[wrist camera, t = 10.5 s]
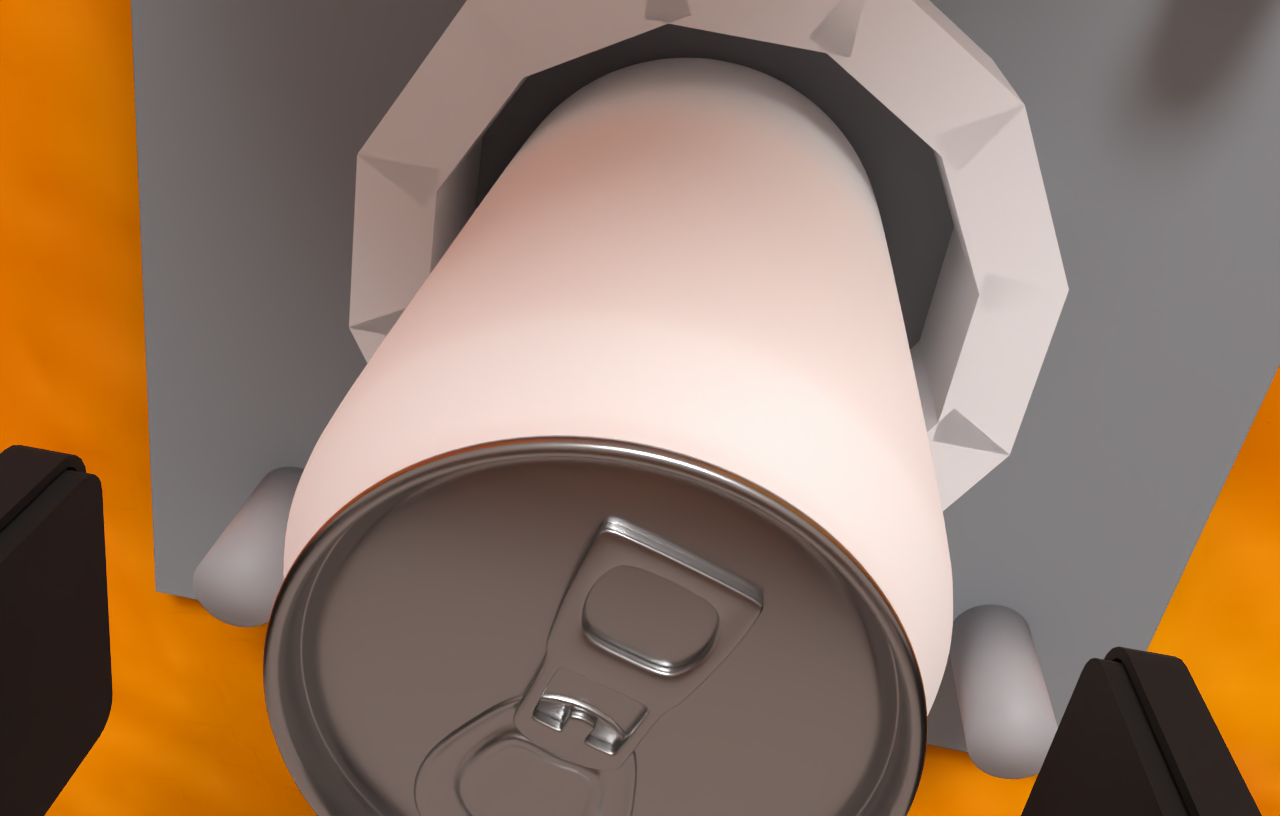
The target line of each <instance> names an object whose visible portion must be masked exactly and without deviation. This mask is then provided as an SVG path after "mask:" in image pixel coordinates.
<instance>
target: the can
mask: <svg viewBox="0 0 1280 816" xmlns="http://www.w3.org/2000/svg"><path fill="white" fill-rule="evenodd" d="M283 574H284V581H283V583H282V585H281V587H280V589H279V592H278V594H277V597H276V599H275V602H274V605H273V608H272V611H271V615H270V618H269V622H268V627H267V632H266V637H265V644H264V654H263V683H264V693H265V701H266V706H267V712H268V716H269V720H270V724H271V728H272V731H273V734H274V737H275V740H276V743H277V746H278V748H279V751H280V753H281V755H282V758H283V760H284V762H285V764H286V766H287V768H288V770H289V772H290V774H291V776H292V778H293V779H294V781H295V783H296V785H297V786H298V788H299V790H300V791H301V793H302V794H303V796H304V797H305V799H306V800H307V802H308V803H309V805H310V806H311V807H312V809H313V810H314V811H315V813H316V814H317V815H318V816H906V815H907V814H908V812H909V809H910V807H911V805H912V802H913V800H914V797H915V795H916V792H917V789H918V786H919V782H920V779H921V775H922V771H923V766H924V761H925V755H926V747H927V731H928V722H927V716H928V714H929V712H930V710H931V707H932V705H933V703H934V700H935V698H936V695H937V692H938V689H939V687H940V684H941V681H942V678H943V675H944V671H945V668H946V664H947V660H948V655H949V650H950V644H951V637H952V627H953V580H952V569H951V561H950V554H949V548H948V541H947V535H946V528H945V522H944V516H943V511H942V506H941V501H940V495H939V490H938V485H937V480H936V475H935V469H934V464H933V460H932V455H931V450H930V445H929V440H928V435H927V430H926V425H925V420H924V416H923V411H922V406H921V401H920V396H919V391H918V387H917V382H916V377H915V372H914V368H913V363H912V358H911V353H910V349H909V344H908V339H907V334H906V330H905V325H904V320H903V315H902V311H901V306H900V302H899V297H898V292H897V288H896V283H895V278H894V274H893V269H892V265H891V260H890V256H889V251H888V247H887V242H886V238H885V233H884V229H883V225H882V221H881V216H880V212H879V209H878V205H877V202H876V198H875V195H874V192H873V189H872V186H871V183H870V180H869V178H868V176H867V173H866V171H865V169H864V167H863V165H862V163H861V161H860V159H859V157H858V156H857V154H856V152H855V150H854V149H853V147H852V146H851V144H850V143H849V141H848V140H847V138H846V137H845V136H844V134H843V133H842V132H841V130H840V129H839V128H838V127H837V126H836V124H835V123H834V122H833V121H832V120H831V119H830V118H829V117H828V116H827V115H826V114H825V113H824V112H823V111H822V110H821V109H820V108H819V107H818V106H816V105H815V104H814V103H813V102H812V101H810V100H809V99H808V98H806V97H805V96H804V95H802V94H801V93H800V92H798V91H797V90H795V89H794V88H792V87H790V86H789V85H787V84H785V83H783V82H782V81H780V80H778V79H776V78H774V77H772V76H769V75H767V74H765V73H762V72H760V71H757V70H755V69H752V68H749V67H746V66H742V65H739V64H735V63H731V62H726V61H721V60H714V59H706V58H667V59H659V60H653V61H647V62H643V63H638V64H635V65H631V66H628V67H625V68H622V69H619V70H616V71H614V72H611V73H609V74H607V75H604V76H602V77H600V78H598V79H596V80H594V81H593V82H591V83H589V84H587V85H586V86H584V87H582V88H581V89H579V90H578V91H576V92H575V93H574V94H572V95H571V96H570V97H568V98H567V99H566V100H565V101H563V102H562V103H561V104H560V105H558V106H557V107H556V108H555V109H554V110H553V111H552V112H551V113H550V114H549V115H548V116H547V117H546V118H545V119H544V120H543V121H542V122H541V123H540V125H539V126H538V127H537V128H536V129H535V131H534V132H533V133H532V134H531V135H530V137H529V138H528V139H527V140H526V142H525V143H524V144H523V146H522V147H521V148H520V150H519V151H518V152H517V154H516V155H515V156H514V158H513V159H512V161H511V162H510V163H509V165H508V166H507V167H506V169H505V170H504V172H503V173H502V174H501V176H500V177H499V178H498V180H497V181H496V183H495V184H494V185H493V187H492V188H491V190H490V191H489V192H488V194H487V195H486V196H485V198H484V199H483V201H482V202H481V203H480V205H479V206H478V208H477V209H476V210H475V212H474V213H473V215H472V216H471V217H470V219H469V220H468V222H467V223H466V224H465V226H464V227H463V229H462V230H461V231H460V233H459V234H458V236H457V237H456V238H455V240H454V241H453V243H452V244H451V245H450V247H449V248H448V250H447V251H446V252H445V254H444V255H443V257H442V258H441V260H440V261H439V262H438V264H437V265H436V267H435V268H434V269H433V271H432V272H431V274H430V275H429V276H428V278H427V279H426V281H425V282H424V284H423V285H422V286H421V288H420V289H419V291H418V292H417V293H416V295H415V296H414V298H413V299H412V301H411V302H410V303H409V305H408V306H407V308H406V309H405V311H404V312H403V313H402V315H401V316H400V318H399V319H398V321H397V322H396V323H395V325H394V326H393V328H392V329H391V331H390V332H389V333H388V335H387V336H386V338H385V339H384V341H383V342H382V343H381V345H380V346H379V348H378V349H377V351H376V352H375V353H374V355H373V356H372V358H371V359H370V361H369V362H368V364H367V365H366V367H365V368H364V370H363V371H362V372H361V374H360V375H359V377H358V378H357V380H356V381H355V383H354V384H353V386H352V387H351V388H350V390H349V391H348V393H347V394H346V396H345V398H344V399H343V401H342V402H341V404H340V405H339V407H338V409H337V410H336V412H335V413H334V415H333V417H332V418H331V420H330V421H329V423H328V425H327V426H326V428H325V429H324V431H323V432H322V434H321V436H320V438H319V440H318V441H317V443H316V445H315V447H314V449H313V451H312V454H311V456H310V458H309V460H308V462H307V464H306V467H305V469H304V471H303V473H302V476H301V478H300V481H299V483H298V486H297V488H296V492H295V495H294V498H293V501H292V505H291V509H290V513H289V518H288V523H287V529H286V536H285V548H284V570H283Z"/></svg>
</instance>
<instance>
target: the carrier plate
mask: <svg viewBox="0 0 1280 816" xmlns="http://www.w3.org/2000/svg"><path fill="white" fill-rule="evenodd" d="M131 14H132V38H133V62H134V85H135V109H136V133H137V157H138V180H139V204H140V228H141V251H142V275H143V299H144V322H145V346H146V370H147V393H148V417H149V441H150V464H151V488H152V512H153V535H154V559H155V583H156V592H162V593H167V594H172V595H177V596H182V597H187V598H192V599H197V600H199V602H200V603H201V605H202V606H203V607H204V608H205V609H206V610H207V611H208V612H209V613H210V614H211V615H213V616H214V617H216V618H217V619H219V620H221V621H223V622H225V623H228V624H230V625H234V626H239V627H255V626H259V625H262V624H264V623H266V622H268V621H269V618H270V615H271V611H272V608H273V605H274V602H275V599H276V597H277V594H278V592H279V589H280V587H281V585H282V583H283V581H284V574H283V570H284V548H285V536H286V529H287V523H288V518H289V513H290V509H291V505H292V501H293V498H294V495H295V492H296V488H297V486H298V483H299V481H300V478H301V476H302V473H303V471H304V469H305V467H306V464H307V462H308V460H309V458H310V456H311V454H312V451H313V449H314V447H315V445H316V443H317V441H318V440H319V438H320V436H321V434H322V432H323V431H324V429H325V428H326V426H327V425H328V423H329V421H330V420H331V418H332V417H333V415H334V413H335V412H336V410H337V409H338V407H339V405H340V404H341V402H342V401H343V399H344V398H345V396H346V394H347V393H348V391H349V390H350V388H351V387H352V386H353V384H354V383H355V381H356V380H357V378H358V377H359V375H360V374H361V372H362V371H363V370H364V368H365V367H366V365H367V364H368V362H369V361H370V359H371V358H372V356H373V355H374V353H375V352H376V351H377V349H378V348H379V346H380V345H381V343H382V342H383V341H384V339H385V338H386V336H387V335H388V333H389V332H390V331H391V329H392V328H393V326H394V325H395V323H396V322H397V321H398V319H399V318H400V316H401V315H402V313H403V312H404V311H405V309H406V308H407V306H408V305H409V303H410V302H411V301H412V299H413V298H414V296H415V295H416V293H417V292H418V291H419V289H420V288H421V286H422V285H423V284H424V282H425V281H426V279H427V278H428V276H429V275H430V274H431V272H432V271H433V269H434V268H435V267H436V265H437V264H438V262H439V261H440V260H441V258H442V257H443V255H444V254H445V252H446V251H447V250H448V248H449V247H450V245H451V244H452V243H453V241H454V240H455V238H456V237H457V236H458V234H459V233H460V231H461V230H462V229H463V227H464V226H465V224H466V223H467V222H468V220H469V219H470V217H471V216H472V215H473V213H474V212H475V210H476V209H477V208H478V206H479V205H480V203H481V202H482V201H483V199H484V198H485V196H486V195H487V194H488V192H489V191H490V190H491V188H492V187H493V185H494V184H495V183H496V181H497V180H498V178H499V177H500V176H501V174H502V173H503V172H504V170H505V169H506V167H507V166H508V165H509V163H510V162H511V161H512V159H513V158H514V156H515V155H516V154H517V152H518V151H519V150H520V148H521V147H522V146H523V144H524V143H525V142H526V140H527V139H528V138H529V137H530V135H531V134H532V133H533V132H534V131H535V129H536V128H537V127H538V126H539V125H540V123H541V122H542V121H543V120H544V119H545V118H546V117H547V116H548V115H549V114H550V113H551V112H552V111H553V110H554V109H555V108H556V107H557V106H558V105H560V104H561V103H562V102H563V101H565V100H566V99H567V98H568V97H570V96H571V95H572V94H574V93H575V92H576V91H578V90H579V89H581V88H582V87H584V86H586V85H587V84H589V83H591V82H593V81H594V80H596V79H598V78H600V77H602V76H604V75H607V74H609V73H611V72H614V71H616V70H619V69H622V68H625V67H628V66H631V65H635V64H638V63H643V62H647V61H653V60H659V59H667V58H706V59H714V60H721V61H726V62H731V63H735V64H739V65H742V66H746V67H749V68H752V69H755V70H757V71H760V72H762V73H765V74H767V75H769V76H772V77H774V78H776V79H778V80H780V81H782V82H783V83H785V84H787V85H789V86H790V87H792V88H794V89H795V90H797V91H798V92H800V93H801V94H802V95H804V96H805V97H806V98H808V99H809V100H810V101H812V102H813V103H814V104H815V105H816V106H818V107H819V108H820V109H821V110H822V111H823V112H824V113H825V114H826V115H827V116H828V117H829V118H830V119H831V120H832V121H833V122H834V123H835V124H836V126H837V127H838V128H839V129H840V130H841V132H842V133H843V134H844V136H845V137H846V138H847V140H848V141H849V143H850V144H851V146H852V147H853V149H854V150H855V152H856V154H857V156H858V157H859V159H860V161H861V163H862V165H863V167H864V169H865V171H866V173H867V176H868V178H869V180H870V183H871V186H872V189H873V192H874V195H875V198H876V202H877V205H878V209H879V212H880V216H881V221H882V225H883V229H884V233H885V238H886V242H887V247H888V251H889V256H890V260H891V265H892V269H893V274H894V278H895V283H896V288H897V292H898V297H899V302H900V306H901V311H902V315H903V320H904V325H905V330H906V334H907V339H908V344H909V349H910V353H911V358H912V363H913V368H914V372H915V377H916V382H917V387H918V391H919V396H920V401H921V406H922V411H923V416H924V420H925V425H926V430H927V435H928V440H929V445H930V450H931V455H932V460H933V464H934V469H935V475H936V480H937V485H938V490H939V495H940V501H941V506H942V511H943V516H944V522H945V528H946V535H947V541H948V548H949V554H950V561H951V569H952V580H953V627H952V637H951V644H950V650H949V655H948V660H947V664H946V668H945V671H944V675H943V678H942V681H941V684H940V687H939V689H938V692H937V695H936V698H935V700H934V703H933V705H932V707H931V710H930V712H929V714H928V716H927V722H928V731H927V744H928V745H933V746H938V747H943V748H948V749H953V750H958V751H963V752H968V754H969V757H970V759H971V760H972V762H973V763H974V764H975V765H976V766H977V767H978V768H979V769H980V770H982V771H983V772H985V773H987V774H989V775H992V776H995V777H999V778H1005V779H1020V778H1026V777H1030V776H1033V775H1036V774H1038V773H1039V772H1040V769H1041V767H1042V765H1043V762H1044V760H1045V758H1046V755H1047V753H1048V750H1049V748H1050V746H1051V743H1052V741H1053V739H1054V736H1055V734H1056V731H1057V729H1058V727H1059V724H1060V722H1061V720H1062V717H1063V715H1064V712H1065V710H1066V708H1067V705H1068V703H1069V701H1070V698H1071V696H1072V693H1073V691H1074V689H1075V686H1076V684H1077V682H1078V679H1079V677H1080V674H1081V672H1082V670H1083V668H1084V666H1085V664H1086V663H1087V662H1088V661H1089V660H1090V659H1092V658H1099V659H1104V658H1105V656H1106V654H1107V653H1108V652H1109V651H1110V650H1111V649H1112V648H1115V647H1125V648H1130V649H1136V650H1141V651H1147V649H1148V646H1149V644H1150V642H1151V640H1152V638H1153V636H1154V634H1155V631H1156V629H1157V627H1158V625H1159V623H1160V621H1161V618H1162V616H1163V614H1164V612H1165V610H1166V608H1167V606H1168V603H1169V601H1170V599H1171V597H1172V595H1173V593H1174V591H1175V588H1176V586H1177V584H1178V582H1179V580H1180V578H1181V575H1182V573H1183V571H1184V569H1185V567H1186V565H1187V563H1188V560H1189V558H1190V556H1191V554H1192V552H1193V550H1194V548H1195V545H1196V543H1197V541H1198V539H1199V537H1200V535H1201V533H1202V530H1203V528H1204V526H1205V524H1206V522H1207V520H1208V517H1209V515H1210V513H1211V511H1212V509H1213V507H1214V505H1215V502H1216V500H1217V498H1218V496H1219V494H1220V492H1221V490H1222V487H1223V485H1224V483H1225V481H1226V479H1227V477H1228V475H1229V472H1230V470H1231V468H1232V466H1233V464H1234V462H1235V459H1236V457H1237V455H1238V453H1239V451H1240V449H1241V447H1242V444H1243V442H1244V440H1245V438H1246V436H1247V434H1248V432H1249V429H1250V427H1251V425H1252V423H1253V421H1254V419H1255V417H1256V414H1257V412H1258V410H1259V408H1260V406H1261V404H1262V401H1263V399H1264V397H1265V395H1266V393H1267V391H1268V389H1269V386H1270V384H1271V382H1272V380H1273V378H1274V376H1275V374H1276V371H1277V369H1278V367H1279V365H1280V0H131Z"/></svg>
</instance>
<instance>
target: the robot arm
mask: <svg viewBox="0 0 1280 816" xmlns="http://www.w3.org/2000/svg"><path fill="white" fill-rule="evenodd" d="M111 705H112V675H111V655H110V635H109V616H108V596H107V576H106V557H105V537H104V517H103V497H102V487H101V482H100V480H99V478H98V477H97V476H96V475H94V474H89V473H86V469H85V465H84V463H83V461H82V459H80V458H79V457H78V456H76V455H71V454H66V453H60V452H55V451H49V450H44V449H38V448H33V447H28V446H22V445H13V446H11V447H9V448H7V449H6V450H4V451H3V452H2V453H1V454H0V816H44V815H45V814H46V812H47V811H48V809H49V808H50V807H51V805H52V804H53V802H54V801H55V799H56V798H57V797H58V795H59V794H60V792H61V791H62V789H63V788H64V787H65V785H66V784H67V782H68V781H69V779H70V778H71V777H72V775H73V774H74V772H75V771H76V769H77V768H78V767H79V765H80V764H81V762H82V761H83V759H84V758H85V757H86V755H87V754H88V752H89V751H90V749H91V748H92V746H93V745H94V744H95V742H96V741H97V739H98V738H99V736H100V735H101V733H102V731H103V730H104V727H105V725H106V723H107V720H108V717H109V714H110V710H111ZM1021 816H1262V815H1261V813H1260V811H1259V809H1258V807H1257V805H1256V803H1255V801H1254V799H1253V797H1252V795H1251V793H1250V792H1249V790H1248V788H1247V786H1246V784H1245V782H1244V780H1243V778H1242V776H1241V774H1240V772H1239V770H1238V768H1237V766H1236V764H1235V762H1234V760H1233V758H1232V756H1231V754H1230V752H1229V750H1228V748H1227V746H1226V744H1225V742H1224V740H1223V738H1222V736H1221V734H1220V732H1219V730H1218V728H1217V726H1216V724H1215V722H1214V720H1213V718H1212V716H1211V714H1210V712H1209V710H1208V708H1207V706H1206V704H1205V702H1204V700H1203V698H1202V696H1201V694H1200V692H1199V690H1198V688H1197V686H1196V684H1195V682H1194V680H1193V678H1192V676H1191V674H1190V672H1189V670H1188V668H1187V667H1186V665H1185V664H1184V663H1183V661H1182V660H1181V659H1179V658H1177V657H1174V656H1168V655H1163V654H1157V653H1152V652H1146V651H1141V650H1136V649H1130V648H1125V647H1115V648H1112V649H1111V650H1110V651H1109V652H1108V653H1107V654H1106V656H1105V658H1104V659H1099V658H1092V659H1090V660H1089V661H1088V662H1087V663H1086V664H1085V666H1084V668H1083V670H1082V672H1081V674H1080V677H1079V679H1078V682H1077V684H1076V686H1075V689H1074V691H1073V693H1072V696H1071V698H1070V701H1069V703H1068V705H1067V708H1066V710H1065V712H1064V715H1063V717H1062V720H1061V722H1060V724H1059V727H1058V729H1057V731H1056V734H1055V736H1054V739H1053V741H1052V743H1051V746H1050V748H1049V750H1048V753H1047V755H1046V758H1045V760H1044V762H1043V765H1042V767H1041V769H1040V772H1039V774H1038V777H1037V779H1036V781H1035V784H1034V786H1033V788H1032V791H1031V793H1030V796H1029V798H1028V800H1027V803H1026V805H1025V807H1024V810H1023V812H1022V815H1021Z"/></svg>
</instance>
